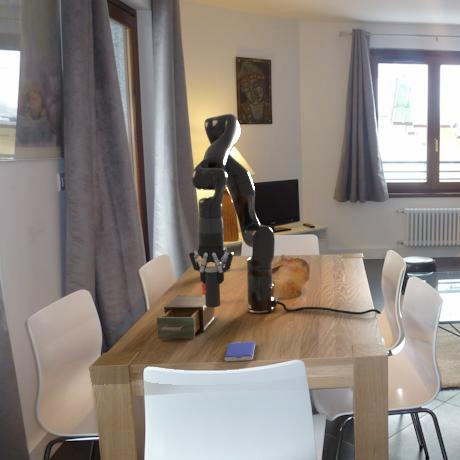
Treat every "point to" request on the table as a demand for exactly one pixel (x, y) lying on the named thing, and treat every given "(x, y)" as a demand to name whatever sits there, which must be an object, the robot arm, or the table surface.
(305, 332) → the table surface
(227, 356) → the hard drive
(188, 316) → the drawer
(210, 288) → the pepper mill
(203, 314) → the cabinet
